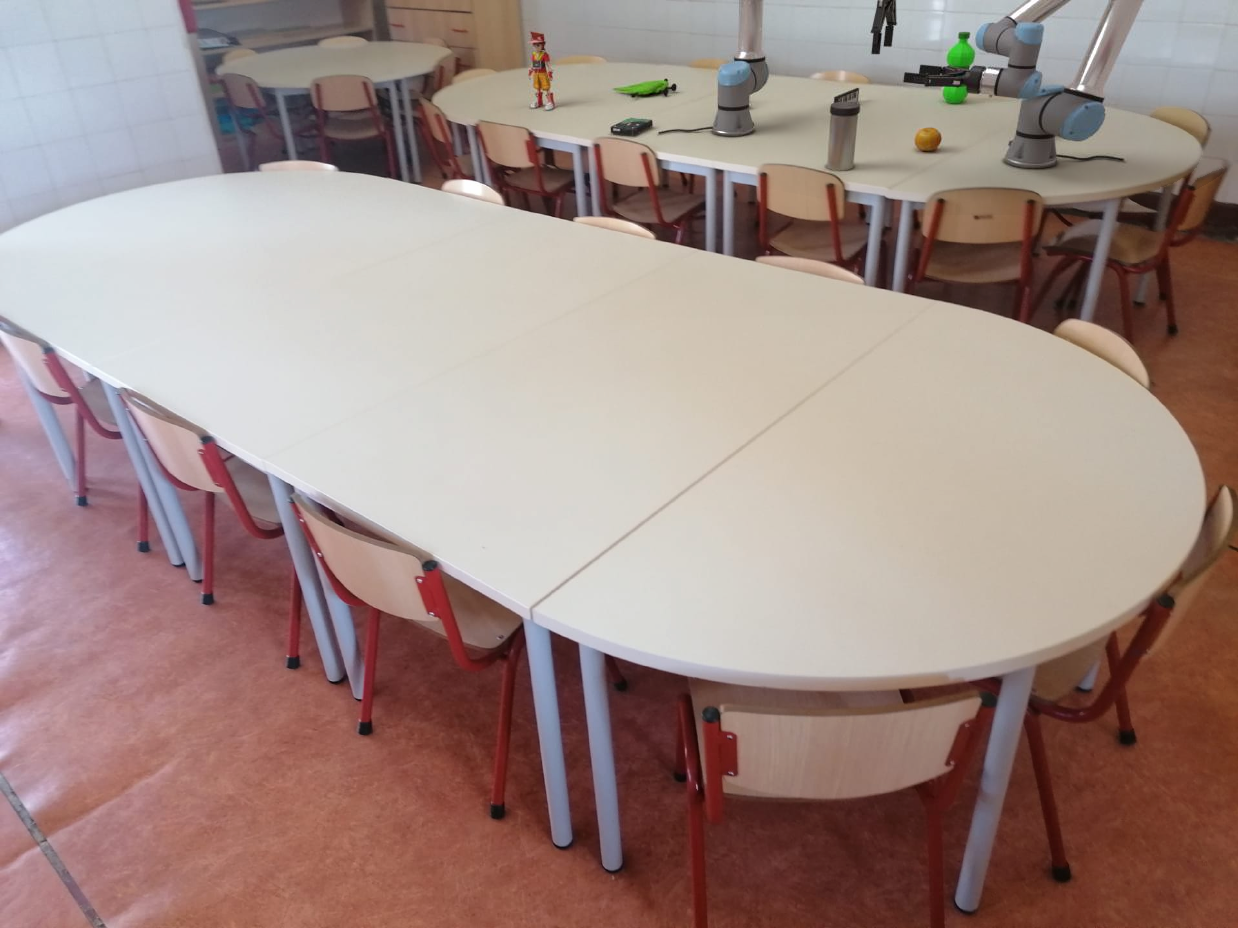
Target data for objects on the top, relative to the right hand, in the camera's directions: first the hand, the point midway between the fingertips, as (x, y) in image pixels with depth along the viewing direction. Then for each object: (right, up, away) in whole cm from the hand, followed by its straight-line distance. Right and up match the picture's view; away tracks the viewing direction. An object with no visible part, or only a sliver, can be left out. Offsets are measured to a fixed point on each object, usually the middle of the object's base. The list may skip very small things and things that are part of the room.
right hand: (912, 73), depth 271 cm
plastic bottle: (+44, +25, +84) cm, 98 cm away
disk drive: (-84, +10, +74) cm, 112 cm away
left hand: (+2, +24, +37) cm, 45 cm away
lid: (-17, -5, +13) cm, 22 cm away
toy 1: (-121, +34, +112) cm, 169 cm away
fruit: (+16, -11, +34) cm, 39 cm away
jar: (-16, -20, +24) cm, 35 cm away
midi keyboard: (+2, +25, +88) cm, 91 cm away
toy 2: (-79, +47, +126) cm, 156 cm away
